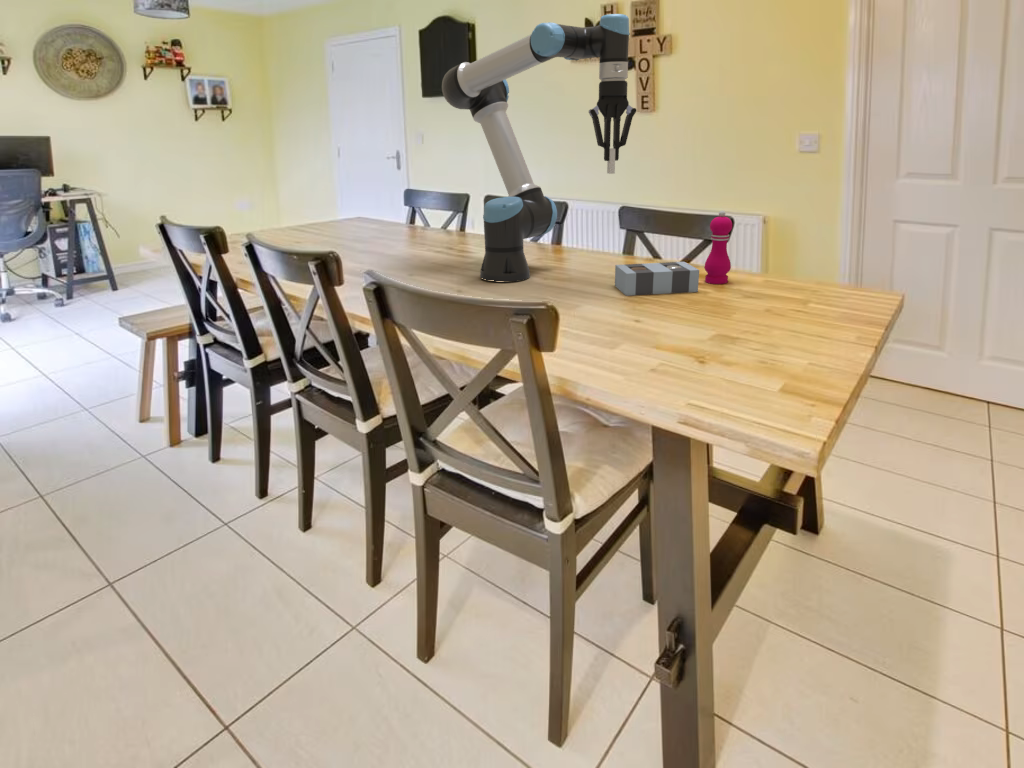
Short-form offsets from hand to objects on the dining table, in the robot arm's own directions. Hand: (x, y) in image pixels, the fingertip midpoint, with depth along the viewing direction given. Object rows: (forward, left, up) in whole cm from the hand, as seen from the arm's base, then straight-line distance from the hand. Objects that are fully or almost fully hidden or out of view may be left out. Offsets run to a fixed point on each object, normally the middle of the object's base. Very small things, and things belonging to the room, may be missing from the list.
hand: (610, 173), depth 187 cm
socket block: (+16, -3, -30) cm, 34 cm away
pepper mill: (+28, +13, -31) cm, 43 cm away
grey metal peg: (+20, 0, -31) cm, 36 cm away
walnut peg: (+12, -6, -31) cm, 33 cm away
